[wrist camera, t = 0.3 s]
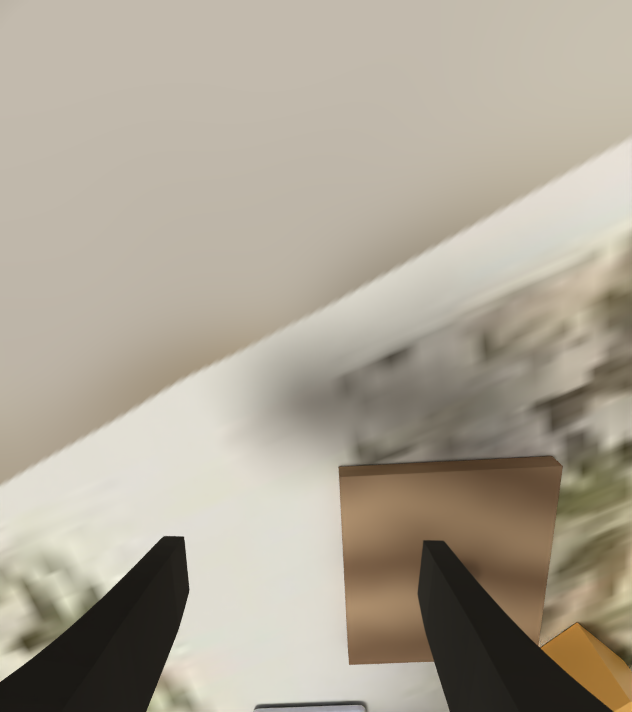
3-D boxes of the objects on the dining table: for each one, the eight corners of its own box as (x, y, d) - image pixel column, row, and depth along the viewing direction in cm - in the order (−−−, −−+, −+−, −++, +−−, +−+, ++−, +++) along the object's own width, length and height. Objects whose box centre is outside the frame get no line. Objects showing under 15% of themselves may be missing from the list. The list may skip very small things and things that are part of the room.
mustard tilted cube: (623, 660, 26) (683, 743, 22) (563, 698, 27) (610, 785, 23) (576, 622, 25) (630, 701, 21) (517, 664, 26) (557, 747, 22)
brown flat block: (528, 642, 26) (565, 712, 22) (347, 649, 26) (353, 720, 22) (551, 456, 22) (602, 502, 18) (338, 466, 22) (343, 514, 18)
